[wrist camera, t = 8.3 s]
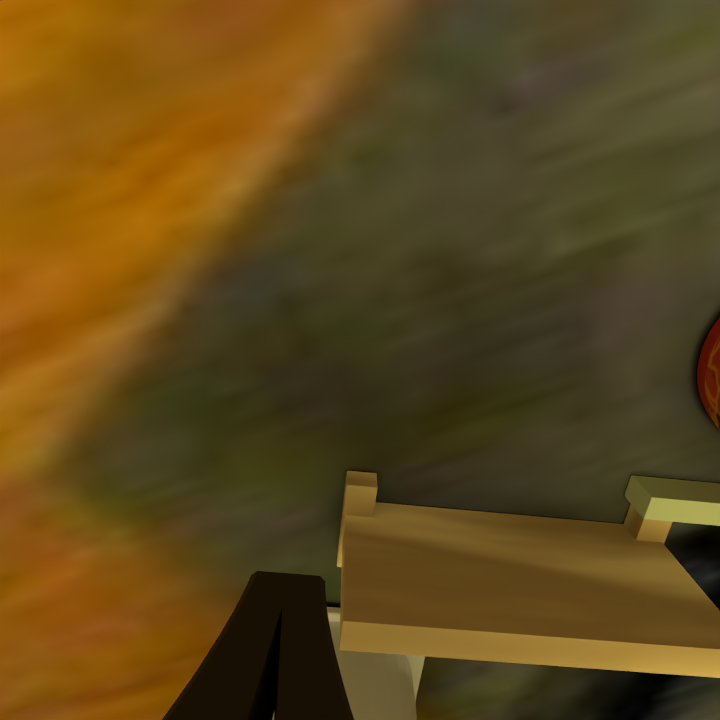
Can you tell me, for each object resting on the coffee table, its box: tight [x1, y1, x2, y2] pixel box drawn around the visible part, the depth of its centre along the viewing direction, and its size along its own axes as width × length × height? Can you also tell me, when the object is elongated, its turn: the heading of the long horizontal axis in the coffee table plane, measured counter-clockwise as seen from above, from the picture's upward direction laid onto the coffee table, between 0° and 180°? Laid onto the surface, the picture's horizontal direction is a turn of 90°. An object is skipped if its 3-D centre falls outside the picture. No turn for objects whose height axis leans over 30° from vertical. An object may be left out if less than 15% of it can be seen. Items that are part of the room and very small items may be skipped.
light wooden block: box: [337, 471, 720, 678], centre depth 18 cm, size 4×13×6 cm, turn 83°
